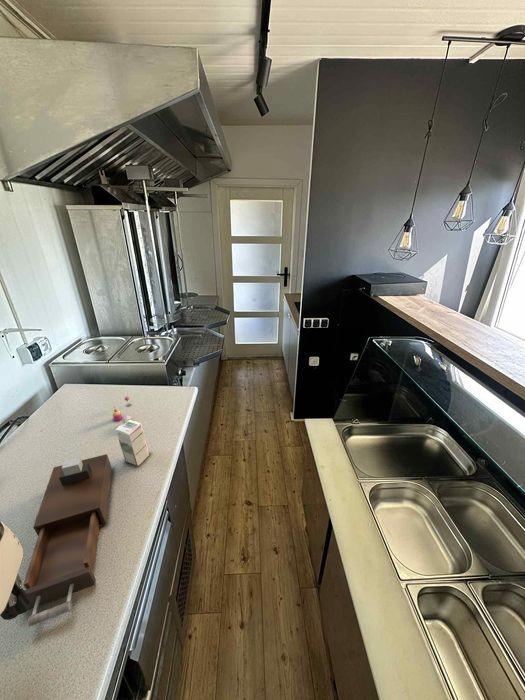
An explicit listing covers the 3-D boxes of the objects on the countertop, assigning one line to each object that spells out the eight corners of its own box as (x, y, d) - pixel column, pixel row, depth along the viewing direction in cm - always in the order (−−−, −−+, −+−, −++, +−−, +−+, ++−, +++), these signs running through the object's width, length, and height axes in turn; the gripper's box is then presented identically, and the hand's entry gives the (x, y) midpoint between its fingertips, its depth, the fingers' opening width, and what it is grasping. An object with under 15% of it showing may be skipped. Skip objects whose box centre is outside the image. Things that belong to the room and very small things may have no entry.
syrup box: (150, 454, 100) (142, 421, 93) (137, 467, 95) (128, 433, 89) (137, 450, 102) (128, 417, 95) (124, 462, 97) (114, 429, 90)
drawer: (91, 611, 60) (84, 598, 58) (14, 642, 56) (3, 629, 53) (104, 512, 80) (99, 499, 77) (48, 529, 76) (41, 516, 73)
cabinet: (106, 524, 78) (99, 507, 74) (42, 544, 73) (32, 527, 70) (112, 469, 94) (107, 453, 91) (61, 483, 89) (53, 467, 86)
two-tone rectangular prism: (62, 485, 81) (55, 470, 78) (64, 477, 83) (58, 462, 80) (90, 477, 83) (84, 462, 80) (91, 469, 85) (86, 455, 83)
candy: (141, 425, 113) (138, 413, 111) (119, 434, 109) (115, 421, 106) (130, 403, 126) (127, 392, 124) (110, 410, 122) (107, 398, 120)
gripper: (-39, 506, 45) (8, 572, 52) (-111, 621, 32) (-34, 685, 40) (19, 490, 47) (55, 555, 55) (-27, 592, 34) (30, 657, 42)
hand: (18, 610), depth 47 cm, fingers closed
